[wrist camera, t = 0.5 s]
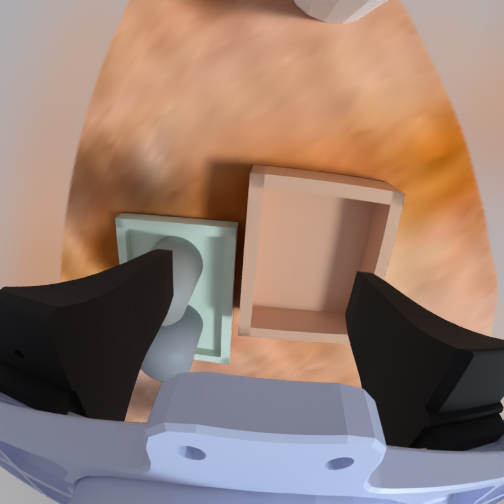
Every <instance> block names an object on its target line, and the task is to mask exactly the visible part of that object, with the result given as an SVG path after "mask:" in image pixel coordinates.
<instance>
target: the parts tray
mask: <svg viewBox="0 0 504 504" xmlns="http://www.w3.org/2000/svg"><path fill="white" fill-rule="evenodd" d="M115 222H116V234H117V245H118V254H119V263H120V264H123V263H125V262H127V261H129V260H131V259H134V258H136V257H138V256H140V255H143V254H145V253H147V252H149V251H150V250H151V249H152V248H153V247H154V245H155V244H156V243H157V242H158V241H159V240H161V239H163V238H165V237H170V236H176V237H181V238H184V239H186V240H188V241H190V242H191V243H192V244H194V245H195V246H196V248H197V249H198V250H199V252H200V254H201V256H202V260H203V270H202V273H201V275H200V278H199V280H198V282H197V284H196V287H195V289H194V291H193V294H192V296H191V298H190V301H189V303H188V305H190V306H192V307H193V308H194V309H195V310H196V311H197V312H198V313H199V314H200V316H201V318H202V321H203V329H202V333H201V336H200V339H199V342H198V345H197V348H196V352H195V355H194V358H193V359H194V360H201V361H208V362H215V363H223V364H229V361H230V355H231V338H232V320H233V303H234V286H235V270H236V254H237V239H238V224H239V222H230V221H219V220H208V219H196V218H184V217H172V216H159V215H145V214H131V213H122V214H120V215H119V216H117V217H116V218H115Z"/></svg>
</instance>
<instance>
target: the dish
mask: <svg viewBox="0 0 504 504" xmlns="http://www.w3.org/2000/svg"><path fill="white" fill-rule="evenodd" d="M404 197H405V193H403V192H402V191H400V190H399V189H397V188H395V187H394V186H392V185H391V184H389V183H388V182H383V181H377V180H371V179H365V178H359V177H353V176H346V175H339V174H332V173H325V172H317V171H310V170H301V169H293V168H284V167H274V166H264V165H253V167H252V170H251V172H250V180H249V193H248V206H247V219H246V232H245V245H244V258H243V272H242V285H241V299H240V313H239V327H238V335H241V336H250V337H260V338H271V339H283V340H296V341H310V342H328V343H350V341H349V338H348V333H347V327H346V319H345V312H346V309H347V306H348V302H349V299H350V295H351V291H352V288H353V284H354V280H355V276H356V273H357V271H361V272H370V273H373V274H375V275H377V276H378V277H380V278H381V279H383V280H384V278H385V275H386V271H387V268H388V264H389V260H390V257H391V253H392V249H393V245H394V241H395V237H396V233H397V229H398V225H399V220H400V216H401V211H402V207H403V202H404Z"/></svg>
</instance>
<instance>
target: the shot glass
mask: <svg viewBox="0 0 504 504" xmlns="http://www.w3.org/2000/svg"><path fill="white" fill-rule="evenodd" d="M386 1H388V0H294V2H295V4H296V5H297V6H298V7H299V8H300V9H302V10H303V11H304V12H305V13H306V14H307V15H309V16H311V17H314V18H316V19H318V20H321V21H323V22H328V23H336V24H344V23H348V22H353V21H357V20H358V19H360V18H361V17H363V16H364V15H366V14H367V13H369V12H370V11H372V10H373V9H375V8H377V7H378V6H380V5H381V4H383V3H385V2H386Z"/></svg>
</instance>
